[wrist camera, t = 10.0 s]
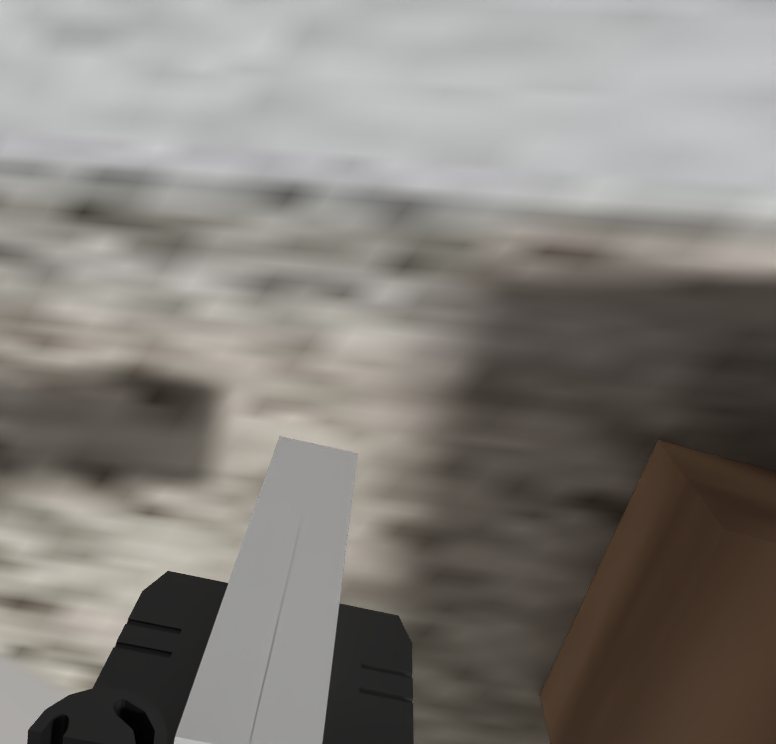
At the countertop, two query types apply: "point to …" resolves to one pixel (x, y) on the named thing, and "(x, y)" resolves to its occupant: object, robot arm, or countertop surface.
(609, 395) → the countertop surface
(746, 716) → the dark brown block
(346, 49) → the countertop surface
